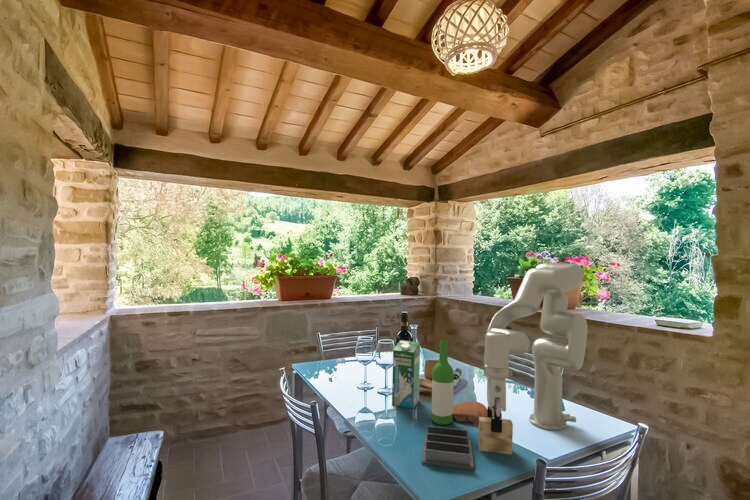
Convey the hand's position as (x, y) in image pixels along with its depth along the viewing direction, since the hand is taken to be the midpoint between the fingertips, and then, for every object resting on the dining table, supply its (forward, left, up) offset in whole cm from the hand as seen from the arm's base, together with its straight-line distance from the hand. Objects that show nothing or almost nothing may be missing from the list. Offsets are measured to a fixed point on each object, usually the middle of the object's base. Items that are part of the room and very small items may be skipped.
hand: (494, 425), depth 120 cm
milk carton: (+32, -32, -8) cm, 45 cm away
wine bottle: (+17, -18, -8) cm, 25 cm away
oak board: (0, -1, -8) cm, 8 cm away
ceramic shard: (+7, -25, -9) cm, 27 cm away
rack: (+15, +4, -8) cm, 17 cm away
